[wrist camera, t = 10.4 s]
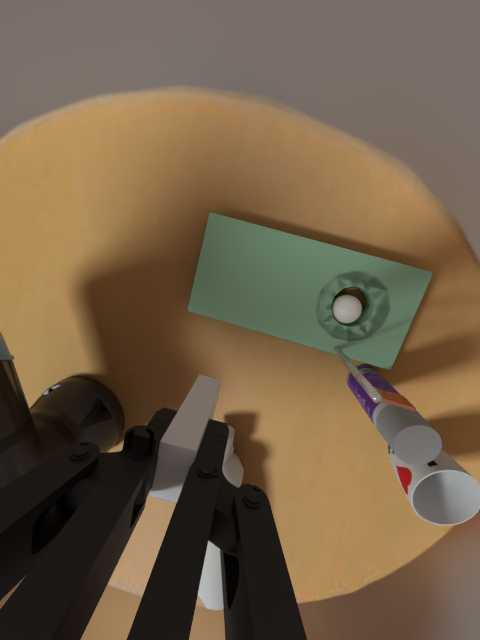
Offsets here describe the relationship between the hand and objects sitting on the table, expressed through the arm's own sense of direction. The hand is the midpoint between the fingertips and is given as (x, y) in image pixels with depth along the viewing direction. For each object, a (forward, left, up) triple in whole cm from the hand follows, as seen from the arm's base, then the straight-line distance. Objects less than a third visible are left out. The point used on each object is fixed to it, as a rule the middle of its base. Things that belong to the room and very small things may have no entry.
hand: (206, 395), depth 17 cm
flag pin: (+15, +1, -21) cm, 26 cm away
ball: (+14, +6, -22) cm, 26 cm away
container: (+20, -4, -24) cm, 31 cm away
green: (+7, +7, -24) cm, 26 cm away
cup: (+30, -12, -24) cm, 40 cm away
